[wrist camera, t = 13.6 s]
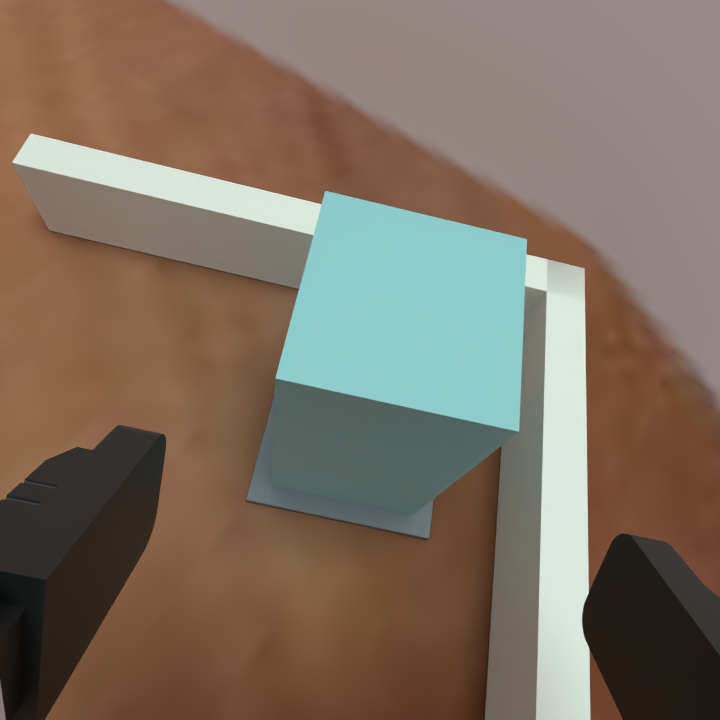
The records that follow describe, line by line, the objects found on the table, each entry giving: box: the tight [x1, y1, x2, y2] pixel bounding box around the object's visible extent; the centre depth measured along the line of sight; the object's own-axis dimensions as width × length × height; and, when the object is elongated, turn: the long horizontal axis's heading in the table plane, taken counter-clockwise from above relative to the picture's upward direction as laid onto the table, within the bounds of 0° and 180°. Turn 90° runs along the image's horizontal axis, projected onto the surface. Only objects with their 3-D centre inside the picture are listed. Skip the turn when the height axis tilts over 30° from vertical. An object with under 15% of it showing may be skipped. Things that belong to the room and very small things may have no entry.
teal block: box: [272, 191, 527, 515], centre depth 18 cm, size 6×6×10 cm
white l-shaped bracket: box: [12, 134, 590, 720], centre depth 19 cm, size 23×21×4 cm
